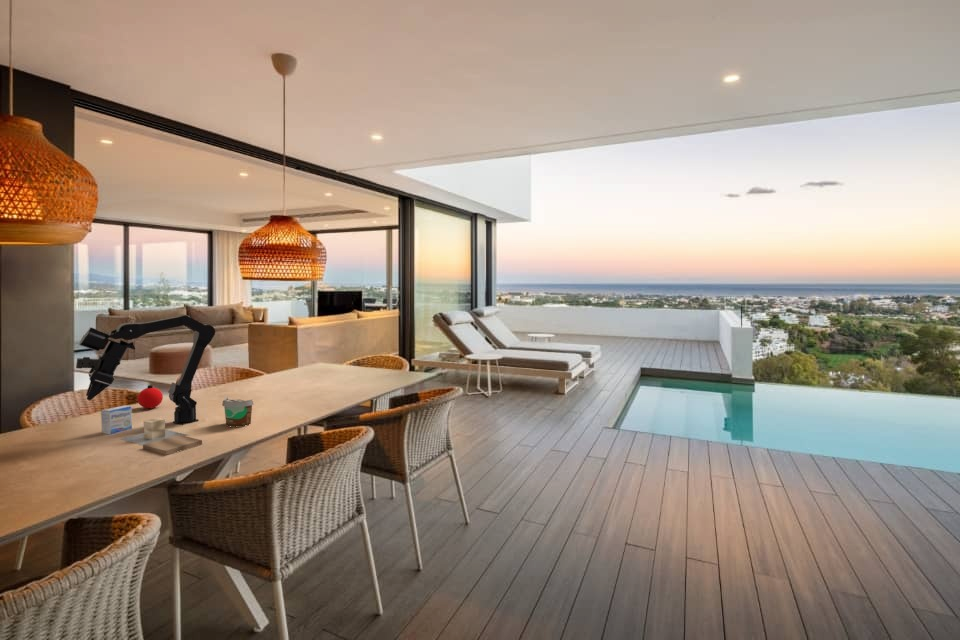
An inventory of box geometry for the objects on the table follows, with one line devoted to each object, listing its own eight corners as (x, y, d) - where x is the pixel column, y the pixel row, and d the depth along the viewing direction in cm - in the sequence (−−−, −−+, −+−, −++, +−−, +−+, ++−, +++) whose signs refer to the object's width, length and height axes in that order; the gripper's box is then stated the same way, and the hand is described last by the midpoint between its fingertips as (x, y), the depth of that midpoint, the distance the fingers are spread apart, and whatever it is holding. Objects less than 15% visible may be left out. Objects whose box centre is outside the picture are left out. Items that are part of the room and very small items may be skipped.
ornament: (167, 407, 209) (166, 384, 208) (143, 412, 202) (143, 388, 201) (157, 404, 214) (156, 382, 213) (133, 408, 206) (133, 385, 206)
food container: (214, 426, 183) (214, 400, 183) (226, 422, 189) (226, 397, 189) (242, 429, 181) (242, 403, 180) (253, 424, 186) (253, 399, 186)
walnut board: (179, 439, 168) (179, 434, 168) (202, 444, 163) (201, 440, 163) (143, 449, 157) (142, 444, 157) (165, 455, 152) (165, 450, 152)
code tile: (161, 429, 179) (161, 428, 179) (188, 435, 172) (188, 434, 172) (119, 439, 166) (119, 438, 166) (147, 446, 159) (147, 446, 159)
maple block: (157, 434, 172) (157, 417, 172) (165, 436, 170) (164, 419, 170) (144, 437, 168) (143, 420, 167) (152, 439, 166) (151, 422, 166)
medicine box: (110, 435, 171) (109, 411, 170) (101, 433, 172) (100, 409, 172) (132, 429, 178) (131, 405, 178) (123, 427, 180) (123, 404, 179)
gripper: (85, 345, 173) (60, 386, 169) (86, 349, 159) (59, 393, 155) (120, 357, 180) (97, 396, 175) (124, 362, 165) (99, 405, 161)
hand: (88, 397), depth 167 cm, fingers open, 9 cm apart
